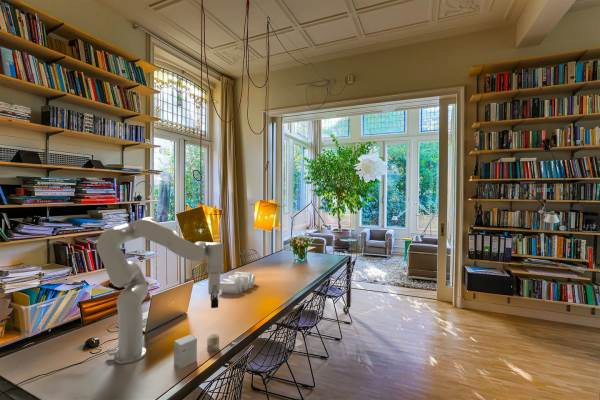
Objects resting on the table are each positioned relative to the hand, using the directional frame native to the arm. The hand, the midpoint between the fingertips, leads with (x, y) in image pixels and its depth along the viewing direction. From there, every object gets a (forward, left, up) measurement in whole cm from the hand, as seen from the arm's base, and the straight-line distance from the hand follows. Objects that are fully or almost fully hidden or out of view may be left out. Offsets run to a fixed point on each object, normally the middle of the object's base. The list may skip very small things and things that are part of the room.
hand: (214, 303), depth 138 cm
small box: (-12, -8, -22) cm, 27 cm away
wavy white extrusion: (+21, +84, -22) cm, 89 cm away
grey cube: (0, 0, -22) cm, 22 cm away
